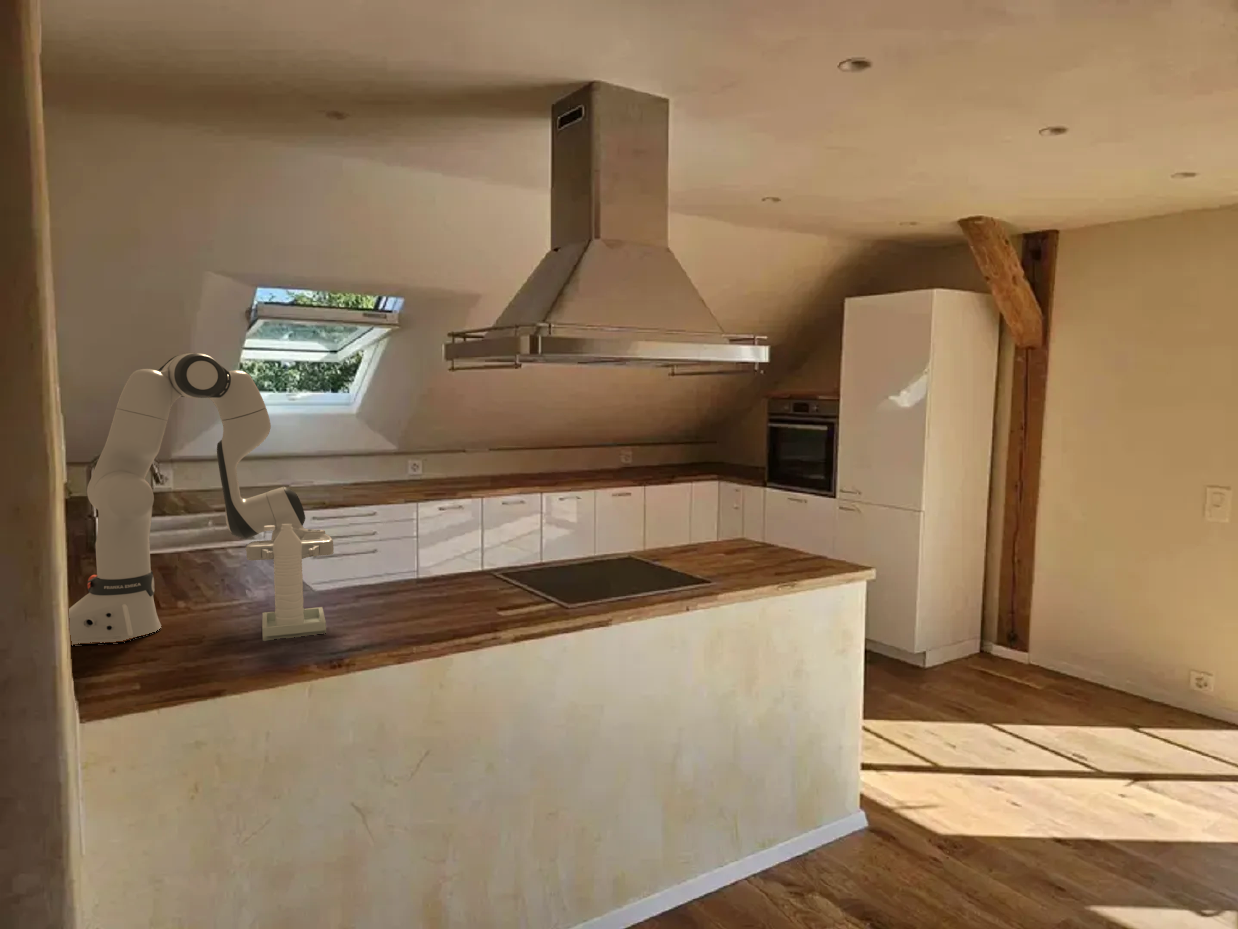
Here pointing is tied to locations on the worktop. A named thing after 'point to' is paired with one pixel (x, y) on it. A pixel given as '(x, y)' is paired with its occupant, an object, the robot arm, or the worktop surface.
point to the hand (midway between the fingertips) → (291, 554)
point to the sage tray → (294, 625)
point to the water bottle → (287, 576)
